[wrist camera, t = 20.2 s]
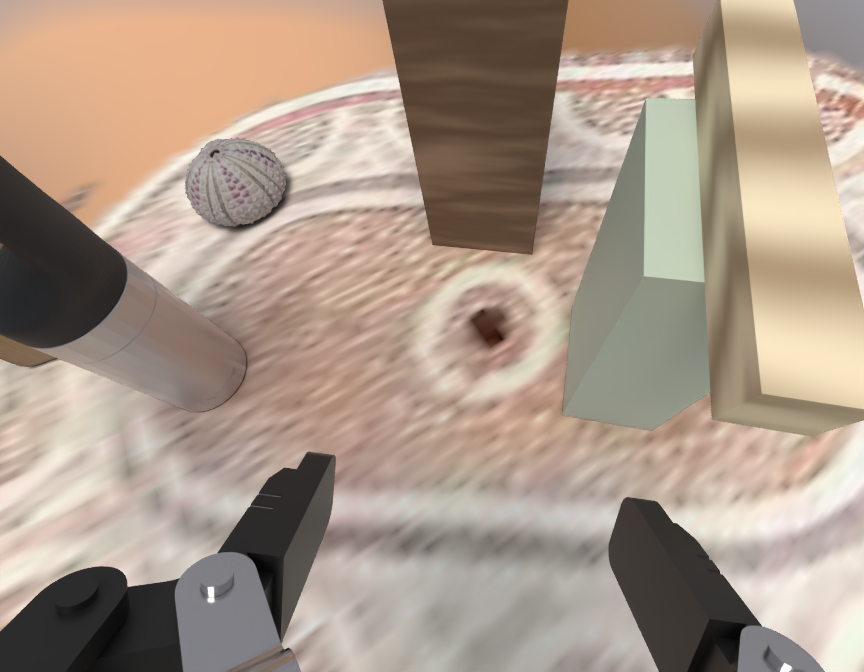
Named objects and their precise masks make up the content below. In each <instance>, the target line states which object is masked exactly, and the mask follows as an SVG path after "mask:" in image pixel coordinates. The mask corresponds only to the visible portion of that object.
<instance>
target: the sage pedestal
mask: <svg viewBox="0 0 864 672" xmlns="http://www.w3.org/2000/svg"><path fill="white" fill-rule="evenodd" d="M709 393H710V375H709V356H708V336H707V317H706V298H705V279H704V260H703V240H702V221H701V202H700V183H699V164H698V144H697V125H696V106H695V99H655V98H646V100H645V103H644V105H643V108H642V111H641V114H640V117H639V120H638V122H637V125H636V128H635V131H634V134H633V137H632V139H631V142H630V145H629V148H628V151H627V154H626V156H625V159H624V162H623V165H622V168H621V171H620V173H619V176H618V179H617V182H616V185H615V187H614V190H613V193H612V196H611V199H610V202H609V204H608V207H607V210H606V213H605V216H604V219H603V221H602V224H601V227H600V230H599V233H598V236H597V238H596V241H595V244H594V247H593V250H592V253H591V255H590V258H589V261H588V264H587V267H586V270H585V272H584V275H583V278H582V281H581V284H580V286H579V289H578V292H577V295H576V298H575V301H574V303H573V306H572V313H571V323H570V334H569V345H568V356H567V367H566V378H565V388H564V399H563V410H562V415H564V416H570V417H575V418H581V419H587V420H593V421H598V422H604V423H610V424H616V425H621V426H627V427H633V428H638V429H644V430H650V431H652V430H653V429H655V428H656V427H658V426H659V425H661V424H662V423H664V422H665V421H667V420H669V419H670V418H672V417H673V416H675V415H676V414H678V413H679V412H681V411H682V410H684V409H685V408H687V407H689V406H690V405H692V404H693V403H695V402H696V401H698V400H699V399H701V398H702V397H704V396H705V395H707V394H709Z"/></svg>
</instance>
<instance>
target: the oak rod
mask: <svg viewBox="0 0 864 672" xmlns="http://www.w3.org/2000/svg"><path fill="white" fill-rule="evenodd" d="M693 68H694V87H695V106H696V125H697V144H698V164H699V183H700V202H701V221H702V240H703V260H704V279H705V298H706V317H707V336H708V356H709V375H710V394H711V413H712V420H717V421H723V422H729V423H735V424H741V425H746V426H752V427H758V428H764V429H770V430H776V431H782V432H788V433H794V434H800V435H806V436H814V435H817V434H820V433H823V432H827V431H830V430H833V429H836V428H840V427H843V426H846V425H849V424H853V423H856V422H859V421H862V420H864V308H863V304H862V299H861V295H860V290H859V286H858V282H857V277H856V273H855V269H854V264H853V260H852V255H851V251H850V247H849V242H848V238H847V233H846V229H845V225H844V220H843V216H842V211H841V207H840V203H839V198H838V194H837V190H836V185H835V181H834V176H833V172H832V168H831V163H830V159H829V154H828V150H827V146H826V141H825V137H824V133H823V128H822V124H821V119H820V115H819V111H818V106H817V102H816V97H815V93H814V89H813V84H812V80H811V76H810V71H809V67H808V62H807V58H806V54H805V49H804V45H803V41H802V36H801V32H800V27H799V23H798V19H797V14H796V10H795V5H794V1H793V0H716V2H715V4H714V6H713V9H712V11H711V14H710V16H709V18H708V21H707V23H706V26H705V28H704V30H703V33H702V35H701V37H700V40H699V42H698V45H697V47H696V49H695V52H694V54H693Z"/></svg>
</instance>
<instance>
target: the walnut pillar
mask: <svg viewBox="0 0 864 672" xmlns="http://www.w3.org/2000/svg"><path fill="white" fill-rule="evenodd" d="M383 5H384V10H385V14H386V19H387V24H388V29H389V34H390V38H391V43H392V49H393V54H394V58H395V63H396V68H397V73H398V78H399V83H400V88H401V93H402V98H403V102H404V107H405V112H406V117H407V122H408V127H409V132H410V137H411V142H412V146H413V151H414V156H415V161H416V166H417V171H418V176H419V181H420V186H421V190H422V195H423V200H424V205H425V210H426V215H427V220H428V225H429V230H430V234H431V239H432V244H433V245H440V246H451V247H461V248H471V249H482V250H492V251H502V252H512V253H523V254H532V249H533V243H534V236H535V229H536V222H537V215H538V208H539V201H540V195H541V188H542V181H543V174H544V167H545V160H546V153H547V146H548V139H549V132H550V125H551V118H552V111H553V104H554V97H555V90H556V83H557V76H558V69H559V62H560V55H561V48H562V41H563V33H564V27H565V20H566V14H567V7H568V0H383Z"/></svg>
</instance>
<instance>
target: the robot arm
mask: <svg viewBox="0 0 864 672" xmlns="http://www.w3.org/2000/svg"><path fill="white" fill-rule="evenodd" d="M0 243H1V244H3V246H2V248H1V250H0V335H2V336H4V337H6V338H9V339H11V340H14V341H16V342H19V343H21V344H24V345H26V346H29V347H31V348H33V349H36V350H38V351H41V352H43V353H46V354H48V355H51V356H53V357H56V358H58V359H60V360H63V361H65V362H68V363H71V364H73V365H76V366H78V367H81V368H83V369H86V370H88V371H91V372H93V373H96V374H98V375H100V376H103V377H105V378H108V379H110V380H113V381H115V382H118V383H120V384H123V385H125V386H128V387H130V388H132V389H135V390H137V391H140V392H142V393H145V394H147V395H150V396H152V397H155V398H157V399H159V400H162V401H164V402H167V403H169V404H172V405H174V406H177V407H179V408H182V409H184V410H187V411H192V412H202V411H207V410H210V409H213V408H215V407H217V406H219V405H221V404H222V403H224V402H225V401H226V400H228V399H229V398H230V397H231V396H232V395H233V394H234V393H235V391H236V390H237V389H238V387H239V386H240V384H241V382H242V380H243V378H244V375H245V371H246V355H245V352H244V350H243V348H242V346H241V345H240V344H239V343H238V342H237V341H236V340H234V339H233V338H232V337H230V336H229V335H228V334H226V333H225V332H224V331H222V330H221V329H220V328H219V327H217V326H216V325H215V324H213V323H212V322H211V321H209V320H208V319H207V318H205V317H204V316H203V315H201V314H200V313H199V312H197V311H196V310H195V309H194V308H192V307H191V306H190V305H188V304H187V303H186V302H184V301H183V300H182V299H180V298H179V297H178V296H176V295H175V294H174V293H172V292H171V291H170V290H168V289H167V288H166V287H164V286H163V285H162V284H160V283H159V282H158V281H157V280H155V279H154V278H153V277H151V276H150V275H149V274H147V273H146V272H144V271H143V270H142V269H140V268H139V267H138V266H136V265H135V264H134V263H132V262H131V261H130V260H128V259H127V258H126V257H124V256H123V255H122V254H121V253H119V252H118V251H117V250H115V249H114V248H113V247H111V246H110V245H109V244H107V243H106V242H105V241H103V240H102V239H101V238H100V237H99V236H97V235H96V234H95V233H94V232H93V231H92V230H90V229H89V228H88V227H87V226H86V225H85V224H83V223H82V222H81V221H80V220H79V219H77V218H76V217H75V216H74V215H73V214H71V213H70V212H69V211H68V210H66V209H65V208H64V207H63V206H61V205H60V204H59V203H57V202H56V201H55V200H54V199H52V198H51V197H50V196H48V195H47V194H46V193H44V192H43V191H42V190H41V189H40V188H38V187H37V186H36V185H35V184H34V183H32V182H31V181H30V180H29V179H28V178H26V177H25V176H24V175H23V174H21V173H20V172H19V171H18V170H17V169H15V168H14V167H13V166H12V165H11V164H10V163H8V162H7V161H6V160H5V159H4V158H2V157H1V156H0ZM335 465H336V457H335V455H329V454H321V453H314V452H307V453H306V455H305V457H304V458H303V460H302V462H301V463H300V465H299V467H298V468H297V469H290V468H283V469H282V470H280V471H279V472H277V473H276V474H274V475H273V476H272V477H270V478H269V479H268V480H267V482H266V483H265V484H264V486H263V487H262V489H261V490H260V492H259V495H257V496H256V498H255V499H254V500H253V502H252V503H251V506H250V507H249V508H248V509H247V511H246V512H245V514H244V515H243V516H242V518H241V519H240V521H239V522H238V524H237V525H236V527H235V528H234V530H233V531H232V533H231V534H230V535H229V537H228V538H227V540H226V541H225V543H224V544H223V546H222V547H221V549H220V550H219V551H218V553H217V554H214V555H211V556H208V557H205V558H203V559H201V560H199V561H198V562H196V563H195V564H193V565H192V566H191V567H190V568H188V569H187V570H186V571H185V572H184V574H183V575H182V576H181V578H179V579H176V580H172V581H167V582H160V583H153V584H146V585H139V586H132V587H128V586H127V579H126V576H125V575H124V574H123V572H121V571H120V570H118V569H116V568H113V567H103V566H100V567H91V568H87V569H83V570H79V571H76V572H74V573H71V574H69V575H66V576H64V577H62V578H60V579H59V580H57V581H55V582H54V583H52V584H50V585H49V586H48V587H46V588H45V589H44V590H42V591H41V592H40V593H39V594H38V595H37V596H36V597H35V598H34V599H33V600H32V601H31V602H30V603H29V604H28V605H27V606H26V607H25V608H24V609H23V610H22V611H21V612H20V613H19V614H18V615H17V616H16V617H15V618H14V619H13V620H12V621H11V622H10V623H9V624H8V625H7V626H5V627H4V628H3V629H2V630H1V631H0V672H301V671H300V668H299V665H298V662H297V660H296V657H295V655H294V653H293V651H292V650H291V649H290V648H287V649H285V650H284V649H283V647H282V645H281V643H282V641H283V638H284V636H285V633H286V631H287V628H288V625H289V623H290V620H291V618H292V615H293V613H294V610H295V608H296V605H297V602H298V600H299V597H300V595H301V592H302V590H303V587H304V585H305V582H306V579H307V577H308V574H309V572H310V569H311V567H312V564H313V562H314V559H315V557H316V554H317V551H318V549H319V546H320V544H321V541H322V539H323V536H324V534H325V531H326V528H327V526H328V523H329V519H330V515H331V510H332V503H333V491H334V478H335ZM608 550H609V561H610V565H611V568H612V570H613V572H614V575H615V577H616V579H617V581H618V583H619V585H620V588H621V590H622V592H623V594H624V596H625V598H626V601H627V603H628V605H629V607H630V609H631V611H632V614H633V616H634V618H635V620H636V622H637V625H638V627H639V629H640V631H641V633H642V635H643V638H644V640H645V642H646V644H647V646H648V648H649V651H650V653H651V655H652V657H653V659H654V661H655V664H656V666H657V668H658V670H659V672H825V671H824V670H823V669H822V667H821V666H820V665H819V664H818V663H817V662H816V660H815V659H814V658H813V657H812V656H811V655H810V654H808V653H807V652H806V651H805V650H804V649H803V648H801V647H800V646H799V645H798V644H796V643H795V642H793V641H792V640H790V639H789V638H787V637H785V636H784V635H782V634H780V633H778V632H776V631H773V630H771V629H768V628H765V627H762V626H761V624H760V623H759V622H758V620H757V619H756V618H755V616H754V615H753V614H752V612H751V611H750V610H749V609H748V607H747V606H746V605H745V603H744V602H743V601H742V599H741V598H740V597H739V595H738V594H737V593H736V591H735V590H734V589H733V588H732V586H731V585H730V584H729V582H728V581H727V580H726V578H725V577H724V576H723V575H721V574H720V570H719V569H718V568H717V566H716V565H715V564H714V563H713V561H712V560H709V556H708V555H707V553H706V552H705V551H704V549H703V548H702V547H701V545H700V544H699V543H698V542H697V540H696V539H695V538H694V537H692V536H691V535H690V534H689V533H688V532H686V531H685V530H684V529H683V528H682V527H680V526H679V525H678V524H676V523H673V522H672V521H671V519H670V518H669V517H668V515H667V514H666V512H665V511H664V510H663V508H662V507H661V506H660V504H659V503H658V502H656V501H651V500H644V499H637V498H630V497H627V498H625V499H624V500H623V502H622V504H621V507H620V510H619V513H618V516H617V519H616V523H615V526H614V529H613V532H612V535H611V539H610V542H609V549H608Z"/></svg>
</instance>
